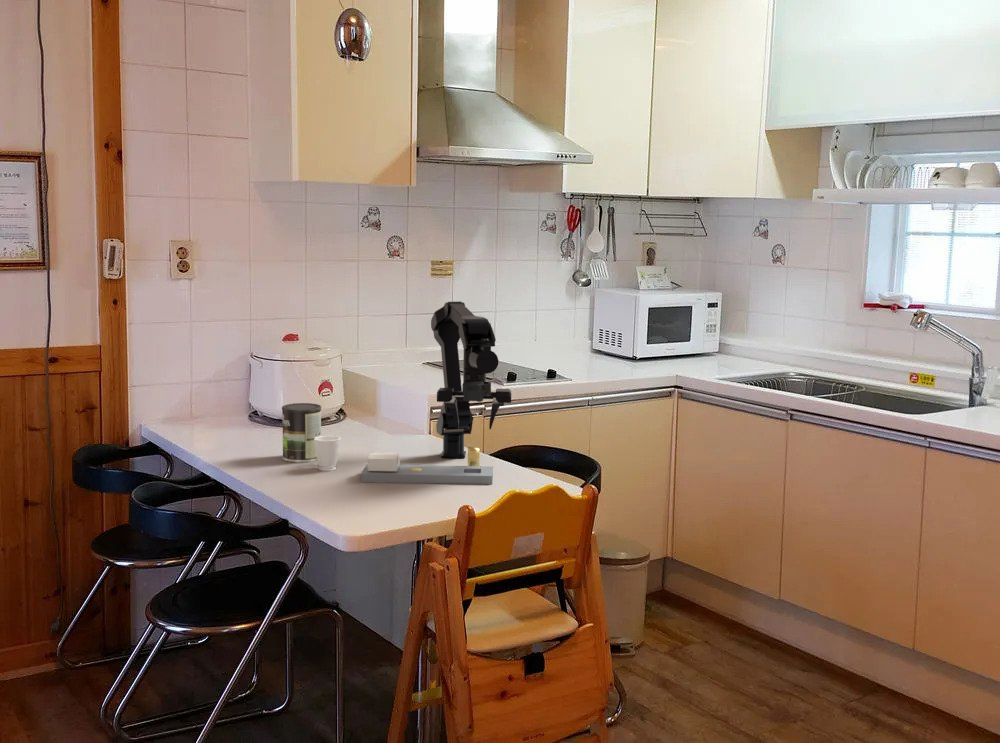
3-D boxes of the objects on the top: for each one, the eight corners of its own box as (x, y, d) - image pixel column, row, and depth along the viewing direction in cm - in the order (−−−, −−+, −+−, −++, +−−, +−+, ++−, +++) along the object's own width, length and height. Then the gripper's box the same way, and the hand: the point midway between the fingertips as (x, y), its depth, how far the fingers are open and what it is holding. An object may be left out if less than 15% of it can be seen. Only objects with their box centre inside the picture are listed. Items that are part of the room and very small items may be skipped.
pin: (467, 469, 265) (468, 446, 264) (479, 469, 265) (479, 446, 264) (467, 472, 262) (467, 449, 261) (479, 472, 262) (479, 449, 261)
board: (366, 472, 260) (366, 463, 260) (492, 474, 260) (492, 466, 260) (360, 481, 250) (360, 473, 250) (492, 484, 250) (492, 475, 250)
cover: (371, 464, 259) (371, 452, 258) (399, 464, 258) (399, 453, 258) (367, 470, 252) (367, 458, 251) (396, 471, 252) (396, 459, 251)
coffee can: (285, 464, 268) (285, 410, 266) (279, 455, 277) (279, 403, 275) (325, 461, 271) (324, 408, 269) (317, 453, 281) (317, 402, 279)
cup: (318, 473, 258) (318, 441, 257) (306, 464, 267) (306, 434, 266) (345, 470, 262) (345, 439, 261) (332, 462, 270) (332, 432, 269)
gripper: (435, 372, 251) (435, 434, 254) (511, 373, 251) (510, 435, 254) (438, 365, 262) (438, 425, 265) (511, 366, 262) (510, 427, 265)
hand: (473, 428), depth 262 cm, fingers open, 8 cm apart
